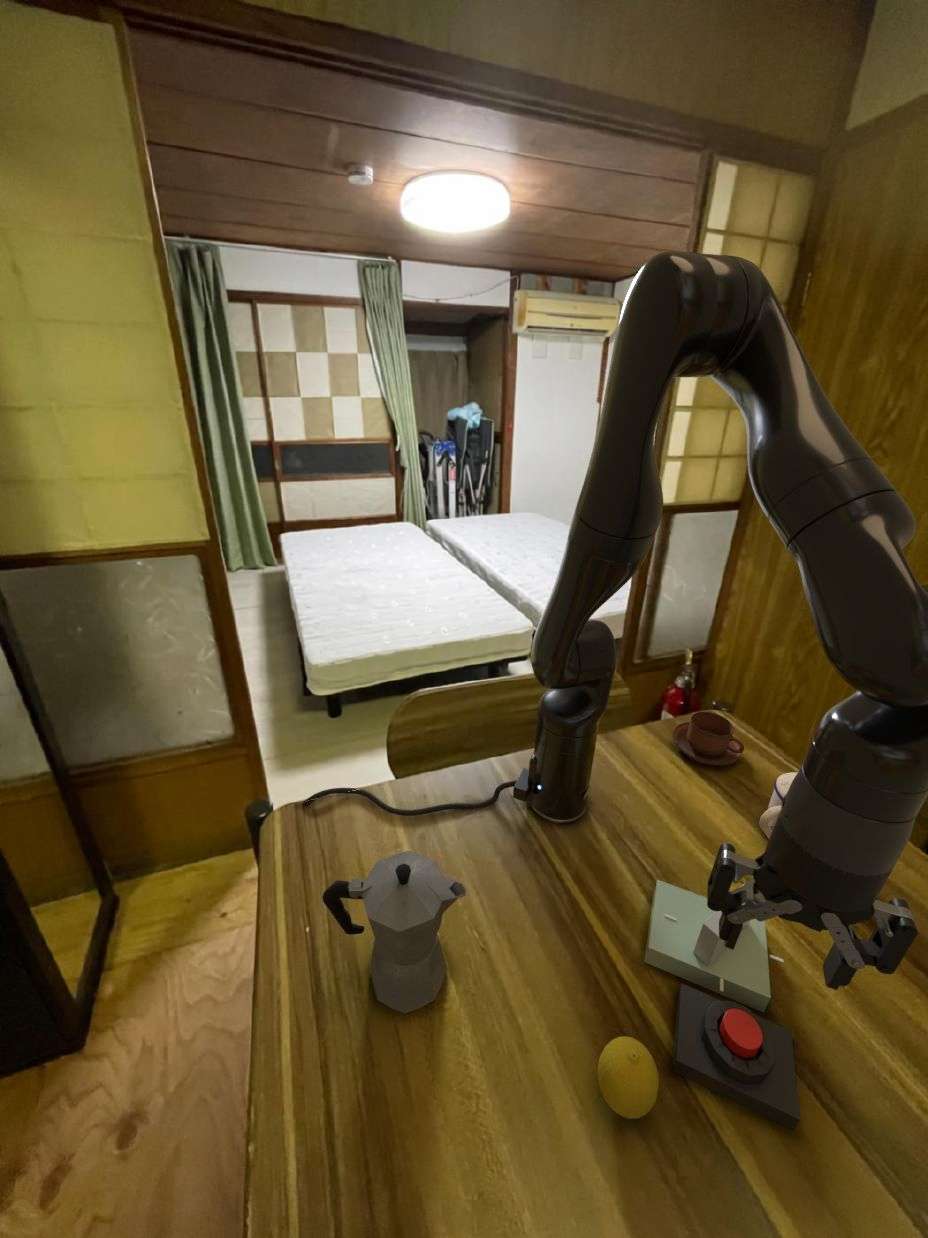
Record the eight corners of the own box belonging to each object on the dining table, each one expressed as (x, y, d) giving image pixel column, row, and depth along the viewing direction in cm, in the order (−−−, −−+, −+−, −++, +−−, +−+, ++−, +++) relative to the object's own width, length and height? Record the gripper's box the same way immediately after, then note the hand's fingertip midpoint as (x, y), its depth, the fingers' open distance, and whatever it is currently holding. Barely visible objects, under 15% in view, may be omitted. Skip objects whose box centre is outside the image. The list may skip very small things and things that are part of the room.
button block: (671, 1071, 53) (679, 1051, 51) (677, 994, 59) (684, 973, 58) (793, 1131, 49) (806, 1111, 47) (785, 1041, 55) (796, 1021, 54)
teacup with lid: (792, 808, 85) (814, 754, 80) (841, 854, 77) (869, 796, 72) (731, 823, 82) (750, 767, 77) (776, 872, 74) (800, 813, 69)
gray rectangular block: (708, 967, 59) (720, 936, 57) (692, 952, 61) (703, 921, 58) (749, 923, 64) (761, 893, 61) (733, 911, 65) (745, 881, 63)
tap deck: (642, 975, 61) (646, 959, 60) (654, 884, 72) (658, 869, 71) (781, 1035, 56) (789, 1019, 54) (771, 927, 67) (778, 912, 65)
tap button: (719, 1047, 52) (723, 1038, 51) (719, 1011, 55) (723, 1002, 54) (759, 1066, 50) (764, 1057, 50) (757, 1027, 53) (761, 1018, 53)
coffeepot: (463, 932, 66) (466, 832, 58) (464, 1016, 57) (466, 912, 49) (343, 931, 65) (328, 831, 57) (325, 1015, 57) (305, 911, 49)
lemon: (586, 1065, 53) (595, 1023, 50) (637, 1060, 54) (650, 1018, 50) (603, 1137, 48) (615, 1096, 45) (660, 1131, 49) (676, 1090, 45)
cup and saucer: (738, 740, 100) (747, 714, 98) (739, 780, 91) (749, 752, 88) (674, 723, 105) (680, 698, 102) (668, 759, 95) (675, 733, 92)
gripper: (735, 833, 39) (690, 963, 46) (975, 908, 34) (882, 1042, 41) (733, 770, 45) (694, 893, 52) (936, 825, 40) (861, 954, 47)
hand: (777, 958), depth 47 cm, fingers open, 7 cm apart
